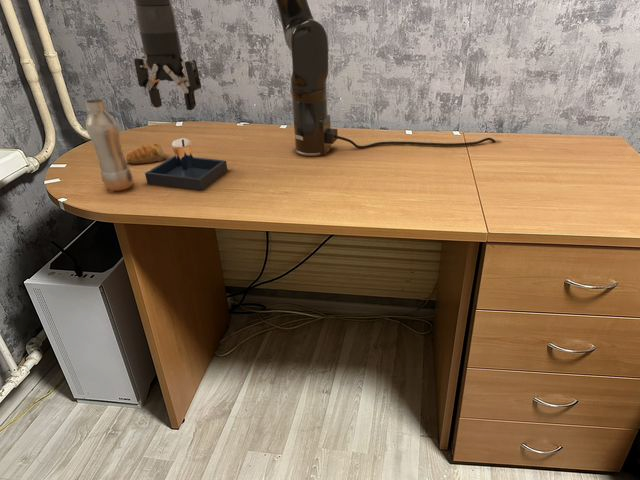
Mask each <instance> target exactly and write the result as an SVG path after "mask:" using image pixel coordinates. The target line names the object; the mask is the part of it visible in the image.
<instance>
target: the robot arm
mask: <svg viewBox="0 0 640 480" xmlns="http://www.w3.org/2000/svg"><path fill="white" fill-rule="evenodd" d="M275 1H276V4H277V9H278V14H279V18H280V22H281V26H282V31H283V36H284V40H285V44H286V45H287V48H288V49H289V51H291V61H292V62H291V63H292V71H291V72H292V73H291V75H290V88H291V102H292V105H291V106H292V117H293V132H294V147H295V149H294V151H295V153H296V154H297V155H300V156H304V157H318V156H322V157H323V156H324V157H325V156H326V155H327V154H328V153H329V152H330V151H331V150H332V145H334V143H335V142H336V141H337V140H340V141H345V142H348V143H350V144H351V145H352V146H354V147H355V148H357V149H368V148H372V147H374V146H382V145H413V146H414V145H415V146H435V147H460V146H461V147H462V146H463V147H464V146H474V145H479V144H482V143H484V142H486V141H490V142H492V143H494V144H495V143H497V141H496V140H495V139H494V138H492V137H484V138H483V139H481V140H477V141H470V142H450V143H449V142H422V141H420V142H419V141H395V140H394V141H391V140H390V141H377V142H373V143H370V144H367V145H358V144H356V142H354V141H353V140H351V139H349V138H347V137H344V136H339V135H338V133H339V132H338V128H331V115H330V114H328V113H329V112H328V88H327V86H328V85H327V82H328V81H327V80H328V76H329V39H328V34H327V31H326V29H325V27H324V25H322V24H321V23H320V22H319V21H317V20H316V19H314V16H313V14H312V12H311V8H310V6H309V2H308V0H275ZM134 5H135V6H134V7H135V12H136V13H135V15H136V21H137V27H138V30H139V34H140V41H141V44H142V48H143V52H144V54H145V55H146V57H145V56H139V57H135V58H134V60H133V62H134V67H135V72H136V77H137V78H136V79H137V83H138V86H139V87H141V88H145V89H146V90H147V91H148V93H149V99H150V103H151V104H152V106H153V107H154V108H160V107H162V106H163V102H162V97H161V93H160V89H159V88H158V86H159V85H160V82H161V81H168V82H174V83H175V84H176V85H177V86H179V87H180V89H181V90H182V91H183V92H184V93H183V96H184V102H185V107H186V108H185V109H186V110H187V111H192V110H194V109H195V108H196V107H197V102H196V96H195V91H197V90H200V89H201V88H202V83H201V78H200V74H199V70H198V64H197V61H196V60H195V59H190V60H184V59H183V58H182V47H181V42H180V36H179V30H178V25H177V19H176V14H175V12H174V9H173V5H172V0H134ZM148 68H149V69H150V74H149V69H148Z"/></svg>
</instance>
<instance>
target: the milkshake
mask: <svg viewBox="0 0 640 480" xmlns="http://www.w3.org/2000/svg"><path fill="white" fill-rule="evenodd" d="M171 148H172V150H173V154H174V156H176V159H177V163H178V166H179V170H180V173H181V176H185V177H194V176H195V169H194V161H193V157H194V153H193V142H192V141H191V140H190V139H188V138H185V137H181V138H177V139H174V140H173V141H172V142H171Z"/></svg>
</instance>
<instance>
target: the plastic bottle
mask: <svg viewBox="0 0 640 480" xmlns="http://www.w3.org/2000/svg"><path fill="white" fill-rule="evenodd" d="M85 107H86V111H87V112H88V115H87V117H86V121H85V130H86V133H87V134H88V137H89V139H90V141H91V142H92V145H93V148H94V150H95V153H96V156H97V159H98V164H99V168H100V176H101V181H102V183H103V185H104V187H105V188H106V189H108V190H109V191H124V190H126V189H129V188H131V187H132V185H133V183H134V178H133V176H134V175H133V173H132V171H131V169H130V167H129V166H128V162H127V159H126V158H125V155H124V151H123V148H122V144H121V137H120V129H119V125H118V121H116V119H115V118H114V117H113V116H112V115H111V114H109V112H108V111H107V106H106V103H105V100H104V99H102V98H92V99H88V100H85Z"/></svg>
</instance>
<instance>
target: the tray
mask: <svg viewBox="0 0 640 480" xmlns="http://www.w3.org/2000/svg"><path fill="white" fill-rule="evenodd" d="M193 161H194V169H195V176H194V177H185V176H181V173H180V170H179V166H178V163H177V159H176V156H175V155H173V156H172V157H169V158H167V159H166V160H165V161H163V162H161V163H160V164H158V165H155V167H153V168H151V169H150V170H148V171H146V172H145V173H144V175H145V179H146V182H147V185H151V186H158V187H159V186H160V187H167V188H175V189H184V190H193V191H199V192H200V191H201V192H203V191H204V190H205V189H206V188H208V187H209V186H210V185H212V184H213V183H214V182H215V181H217V180H219V179H220V178H221V177H222V176H223V175H225V174H226V173H228V171H229V170H228V165H227V160H224V159H213V158H205V157H195V156H193Z"/></svg>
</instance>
